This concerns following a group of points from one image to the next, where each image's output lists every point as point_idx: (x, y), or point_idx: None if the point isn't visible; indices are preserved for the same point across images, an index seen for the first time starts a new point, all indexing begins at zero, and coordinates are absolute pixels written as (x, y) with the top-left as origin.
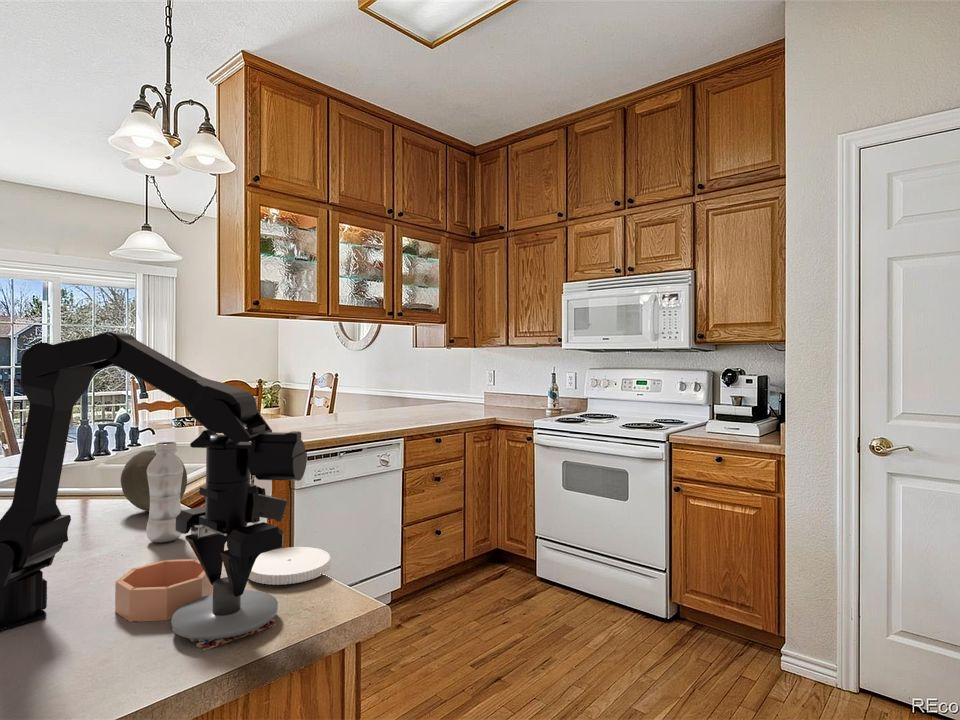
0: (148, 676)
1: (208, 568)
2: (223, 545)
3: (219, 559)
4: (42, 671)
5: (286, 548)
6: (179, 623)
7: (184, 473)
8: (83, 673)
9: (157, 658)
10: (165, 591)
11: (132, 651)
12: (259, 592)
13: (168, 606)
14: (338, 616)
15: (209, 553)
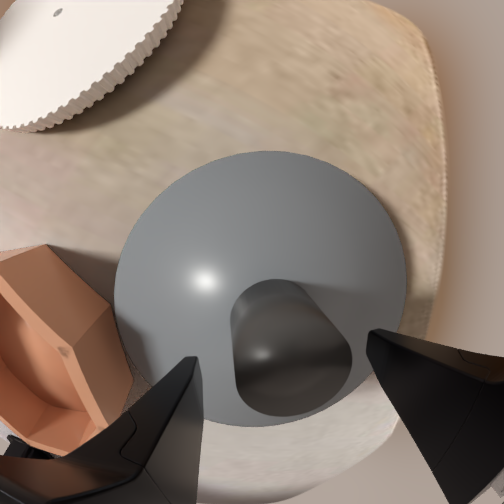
0: (337, 434)
1: (199, 446)
2: (145, 478)
3: (178, 431)
4: (210, 493)
5: (4, 16)
6: (260, 419)
7: None
8: (255, 477)
9: (296, 425)
10: None
11: (236, 444)
12: (215, 170)
13: (125, 398)
14: (415, 86)
15: (182, 499)
